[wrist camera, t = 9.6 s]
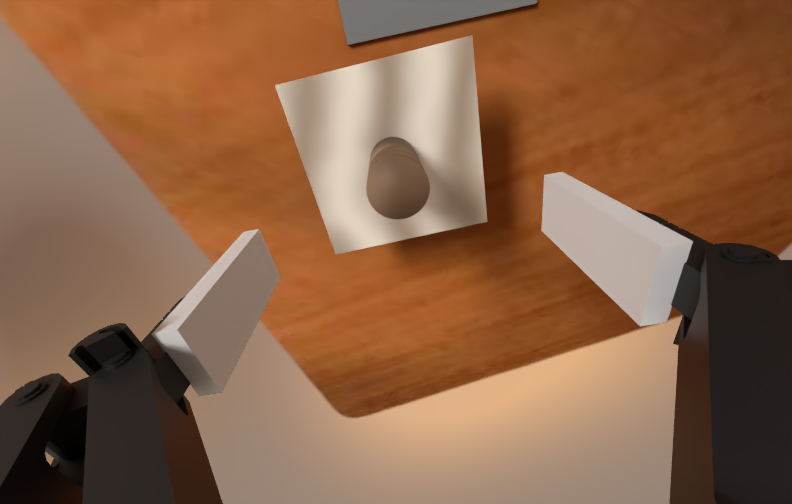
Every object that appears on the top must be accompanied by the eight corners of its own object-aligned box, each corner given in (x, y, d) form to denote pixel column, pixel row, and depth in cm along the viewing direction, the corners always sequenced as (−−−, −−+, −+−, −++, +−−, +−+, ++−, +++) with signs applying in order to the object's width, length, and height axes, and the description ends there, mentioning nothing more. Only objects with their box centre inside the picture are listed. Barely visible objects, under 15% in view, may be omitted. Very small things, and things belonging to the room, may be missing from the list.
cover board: (468, 37, 24) (513, 13, 16) (483, 217, 31) (520, 265, 23) (279, 85, 25) (230, 86, 16) (337, 248, 32) (322, 305, 24)
